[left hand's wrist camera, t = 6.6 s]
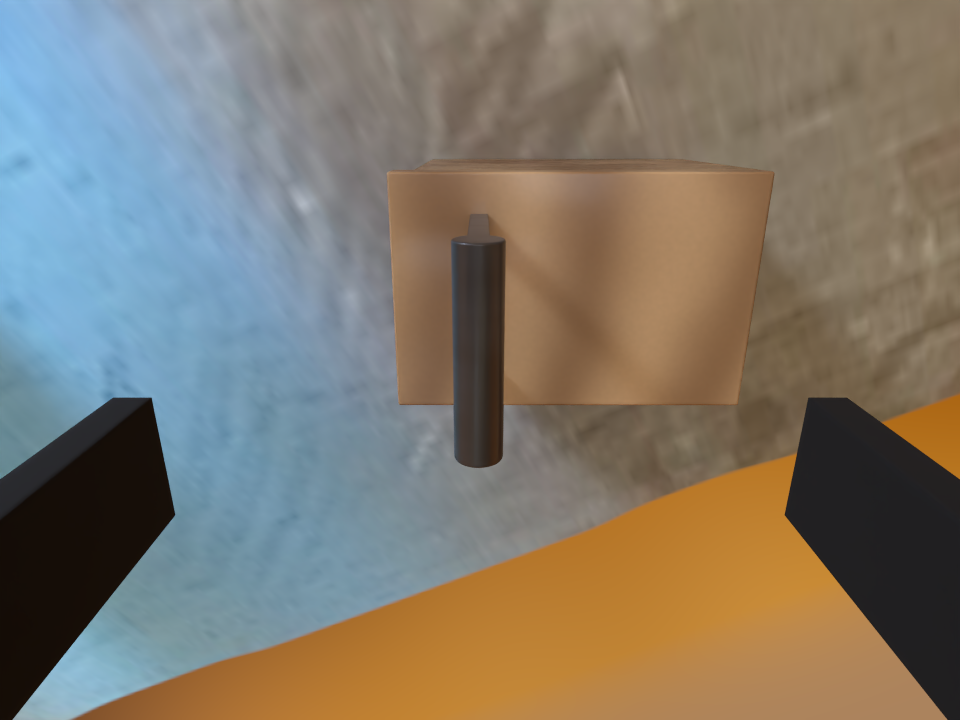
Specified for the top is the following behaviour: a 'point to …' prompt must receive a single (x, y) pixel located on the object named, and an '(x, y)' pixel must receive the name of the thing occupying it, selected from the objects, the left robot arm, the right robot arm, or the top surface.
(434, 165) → the chest
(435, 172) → the lid
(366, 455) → the top surface
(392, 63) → the top surface
